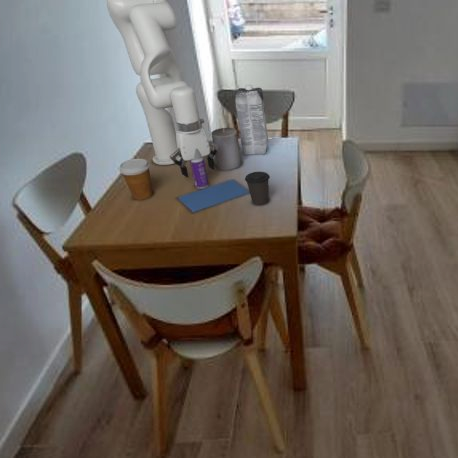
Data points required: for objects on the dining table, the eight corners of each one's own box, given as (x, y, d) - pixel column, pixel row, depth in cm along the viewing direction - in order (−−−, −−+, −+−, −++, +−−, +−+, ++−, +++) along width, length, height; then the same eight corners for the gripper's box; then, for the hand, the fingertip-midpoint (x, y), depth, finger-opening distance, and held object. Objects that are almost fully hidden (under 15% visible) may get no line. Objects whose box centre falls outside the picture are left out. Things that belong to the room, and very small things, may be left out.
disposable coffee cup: (122, 199, 148) (111, 167, 141) (141, 187, 155) (132, 156, 149) (144, 203, 145) (134, 171, 138) (163, 191, 152) (154, 159, 146)
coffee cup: (265, 209, 140) (261, 181, 135) (243, 205, 143) (239, 178, 137) (276, 197, 147) (273, 171, 141) (255, 194, 149) (252, 167, 144)
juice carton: (267, 155, 178) (259, 89, 163) (242, 156, 178) (232, 89, 163) (269, 147, 185) (262, 83, 170) (245, 147, 185) (236, 83, 170)
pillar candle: (224, 159, 175) (218, 123, 167) (246, 161, 173) (241, 125, 165) (212, 169, 167) (205, 132, 159) (235, 171, 165) (229, 134, 157)
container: (205, 189, 153) (196, 149, 145) (193, 188, 154) (184, 148, 146) (210, 183, 157) (203, 144, 149) (199, 182, 158) (190, 143, 150)
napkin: (177, 198, 148) (177, 197, 148) (232, 180, 159) (232, 179, 159) (193, 212, 139) (192, 211, 139) (250, 192, 150) (249, 191, 150)
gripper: (208, 117, 150) (216, 162, 160) (159, 128, 141) (171, 175, 151) (218, 122, 146) (225, 168, 155) (168, 134, 136) (179, 183, 146)
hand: (199, 172), depth 153 cm, fingers open, 9 cm apart
